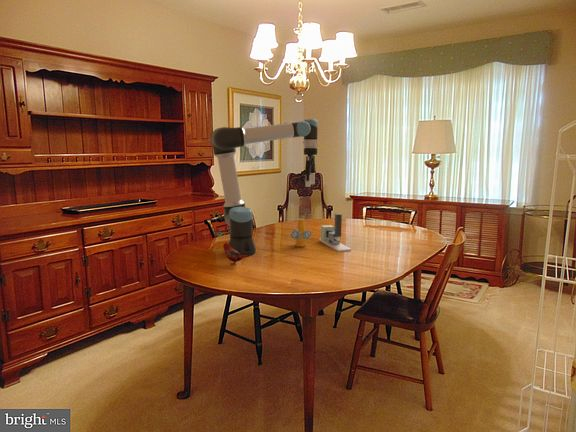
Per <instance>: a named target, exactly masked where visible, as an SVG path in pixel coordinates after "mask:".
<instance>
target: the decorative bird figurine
mask: <svg viewBox="0 0 576 432" xmlns="http://www.w3.org/2000/svg"><path fill="white" fill-rule="evenodd" d="M222 247H223V250H224V254H225V256H226V258H227V259H228V260H229V261H231V262H229V264H231V265H232V264H233V266H234V265H235V266H236V263H237V262H239V261H240V262H241V260H242V259H244V258H248V257H250V256H246V255H241V254H240V253H239V252H238V251H236V250H234V249H233V248H232V247H231V246H230V245H229V242H224V243H223V245H222Z"/></svg>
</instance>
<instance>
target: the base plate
mask: <svg viewBox="0 0 576 432" xmlns="http://www.w3.org/2000/svg"><path fill="white" fill-rule="evenodd" d="M318 241H319V242H321V243H322V244H324V245H326V246H328V247H329V248H331V249H332V250H334V251H336V253H342V252H344V253H345V252H351V251H352V248H350V247H348V246H346V245H345V244H343V243H342V242H340V244H339V245H332V243H329V242H328V241H323V240H322V239H321V238H319V239H318Z"/></svg>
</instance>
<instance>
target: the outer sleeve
mask: <svg viewBox="0 0 576 432" xmlns="http://www.w3.org/2000/svg"><path fill="white" fill-rule="evenodd" d="M340 241H341V240H340ZM340 241H337V240H335V239H334V231H333V232H328V242H329V243H332V245H339V244H340V243H341V242H340Z"/></svg>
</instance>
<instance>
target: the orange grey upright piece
mask: <svg viewBox="0 0 576 432" xmlns="http://www.w3.org/2000/svg"><path fill="white" fill-rule="evenodd" d="M305 221H306V219H305V218H297V229H296V228H295V229H293V231H292V232H291V234H290V236H291V238H292V239H295V247H300V248H303V247H304V248H305V247H307V240H308V239H310V237H311V236H312V231H311V230H310V229H306V223H305Z"/></svg>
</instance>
